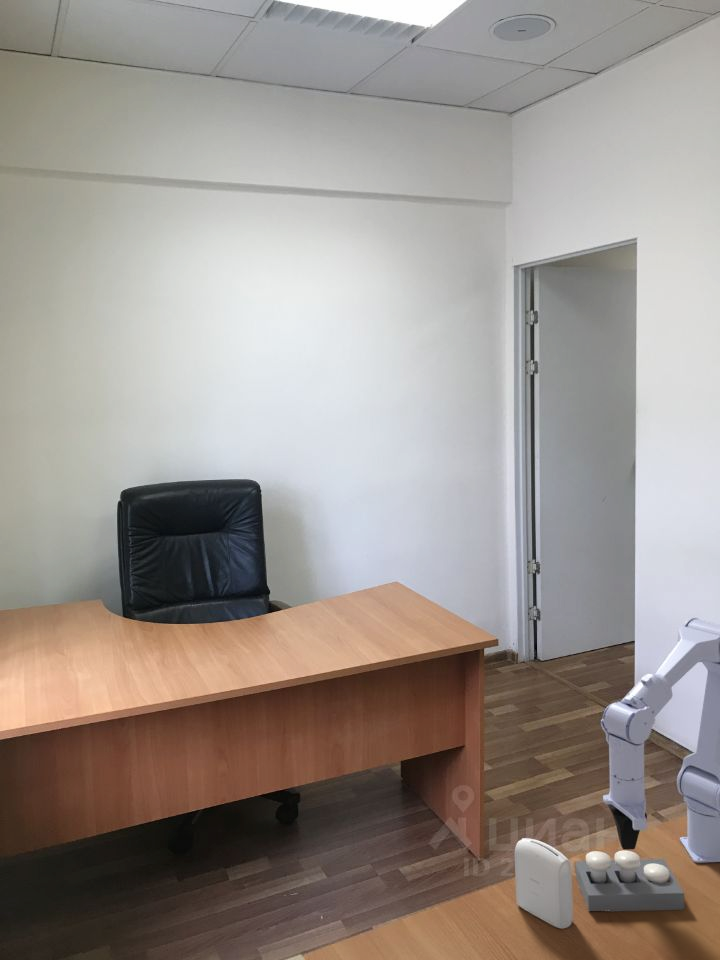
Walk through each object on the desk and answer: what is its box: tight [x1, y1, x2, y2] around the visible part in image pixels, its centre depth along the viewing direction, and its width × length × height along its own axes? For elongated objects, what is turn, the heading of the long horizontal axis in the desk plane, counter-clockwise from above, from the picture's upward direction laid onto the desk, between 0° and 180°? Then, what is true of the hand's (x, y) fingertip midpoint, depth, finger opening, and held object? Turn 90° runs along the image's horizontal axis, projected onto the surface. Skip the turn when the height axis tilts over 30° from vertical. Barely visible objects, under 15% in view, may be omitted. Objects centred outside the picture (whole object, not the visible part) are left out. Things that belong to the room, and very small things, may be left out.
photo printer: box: [514, 837, 574, 930], centre depth 138 cm, size 10×4×12 cm, turn 39°
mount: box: [574, 858, 685, 912], centre depth 143 cm, size 16×10×3 cm, turn 88°
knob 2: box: [644, 863, 669, 883], centre depth 142 cm, size 4×4×4 cm
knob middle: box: [614, 849, 641, 883], centre depth 142 cm, size 4×4×4 cm
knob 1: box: [585, 850, 612, 883], centre depth 142 cm, size 4×4×4 cm
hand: (627, 847), depth 142 cm, fingers closed
